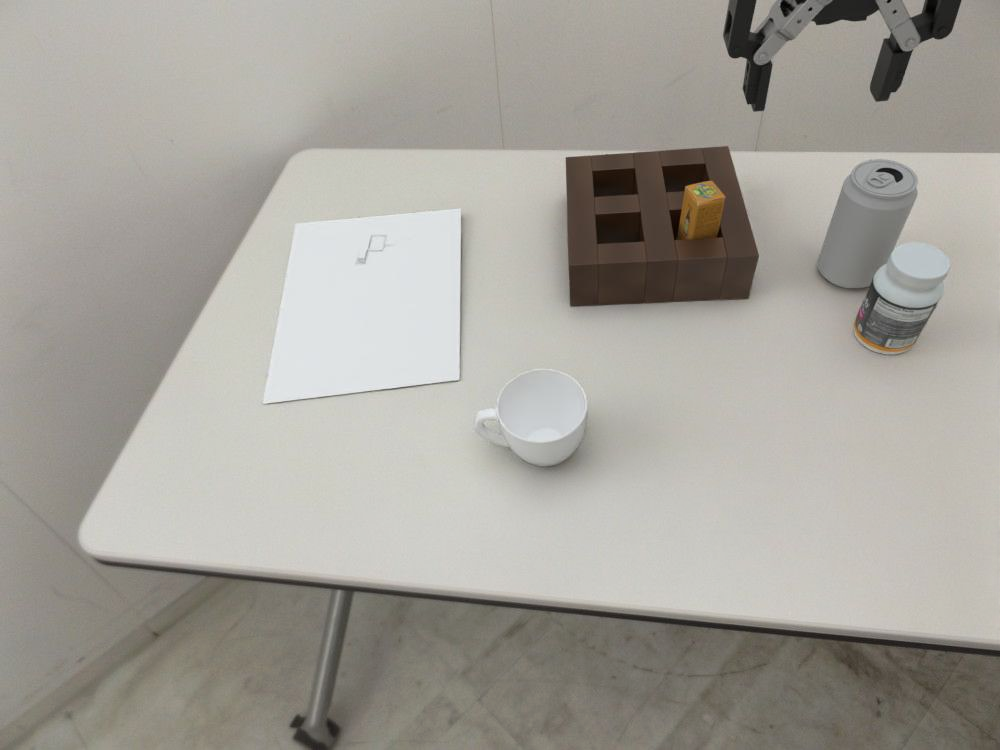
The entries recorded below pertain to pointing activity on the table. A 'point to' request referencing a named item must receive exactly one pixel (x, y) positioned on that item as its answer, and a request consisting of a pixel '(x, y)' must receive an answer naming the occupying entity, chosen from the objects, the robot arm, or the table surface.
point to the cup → (538, 416)
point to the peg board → (653, 229)
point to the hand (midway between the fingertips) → (816, 101)
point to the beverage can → (867, 222)
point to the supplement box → (701, 211)
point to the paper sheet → (368, 306)
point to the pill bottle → (902, 298)
